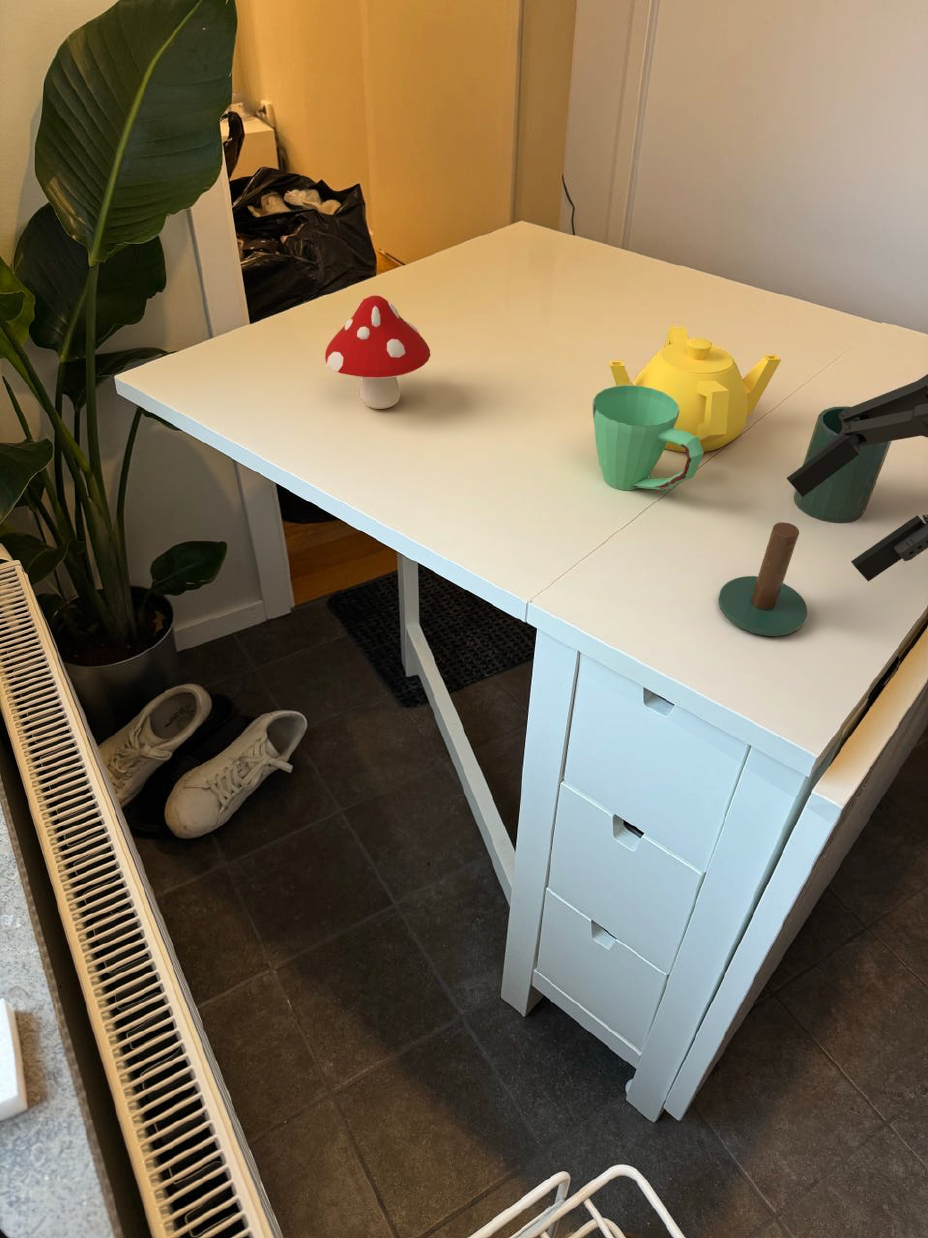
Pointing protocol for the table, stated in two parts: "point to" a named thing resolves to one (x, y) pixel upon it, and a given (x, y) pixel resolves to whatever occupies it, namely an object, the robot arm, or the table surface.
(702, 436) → the teapot
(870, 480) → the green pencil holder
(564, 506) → the table surface
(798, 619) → the ring toss peg stand
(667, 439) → the mug
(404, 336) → the decorative mushroom
